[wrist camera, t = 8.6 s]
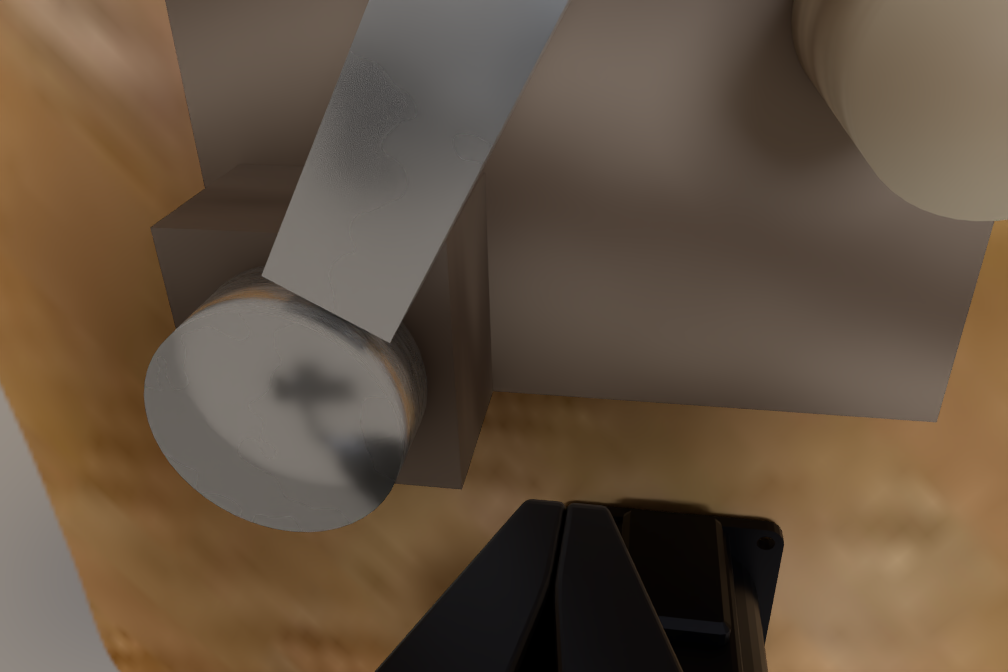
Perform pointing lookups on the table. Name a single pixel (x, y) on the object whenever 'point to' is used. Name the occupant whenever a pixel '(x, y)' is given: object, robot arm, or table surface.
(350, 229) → the lever
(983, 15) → the beige ridged cylinder
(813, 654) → the table surface
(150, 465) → the table surface
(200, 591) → the table surface
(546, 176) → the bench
